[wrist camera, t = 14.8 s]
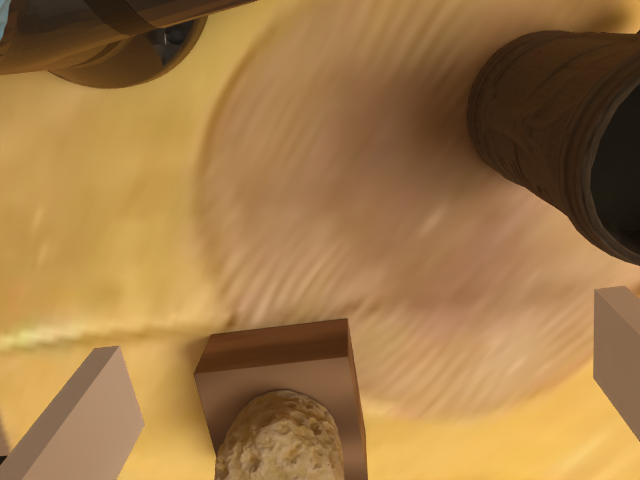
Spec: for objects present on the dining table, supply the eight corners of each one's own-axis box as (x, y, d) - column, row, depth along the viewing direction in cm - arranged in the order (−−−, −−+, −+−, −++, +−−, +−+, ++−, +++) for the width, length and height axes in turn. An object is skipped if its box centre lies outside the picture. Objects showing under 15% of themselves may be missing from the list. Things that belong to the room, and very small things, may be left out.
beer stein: (539, 214, 43) (713, 328, 24) (430, 137, 41) (524, 193, 22) (680, 41, 39) (1018, 14, 20) (567, -52, 38) (820, -178, 19)
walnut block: (211, 334, 48) (193, 374, 43) (347, 318, 47) (347, 356, 42) (239, 445, 52) (226, 494, 47) (365, 432, 51) (367, 481, 46)
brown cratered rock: (272, 493, 46) (258, 576, 39) (206, 416, 44) (179, 489, 37) (365, 448, 44) (369, 526, 37) (302, 363, 42) (293, 430, 35)
